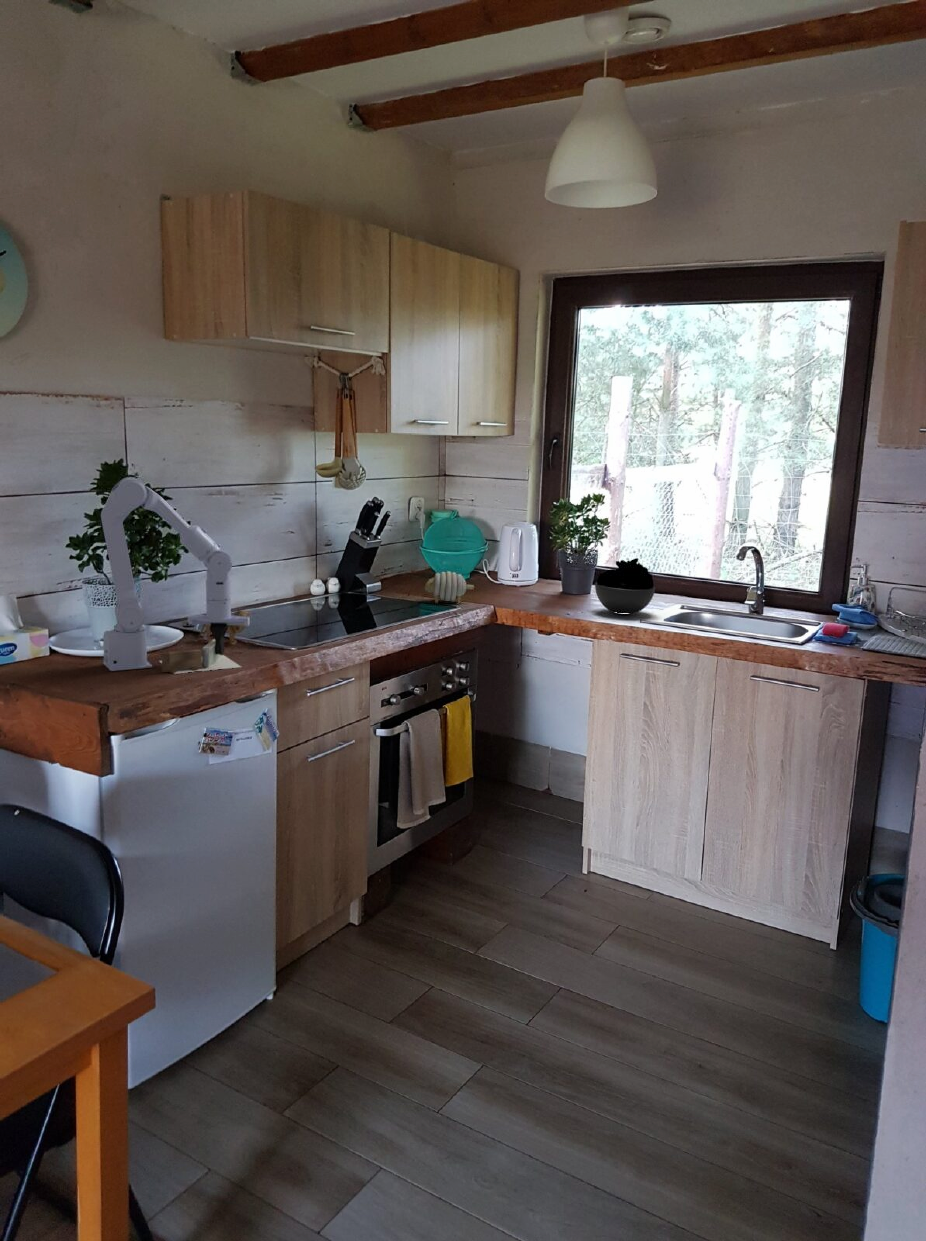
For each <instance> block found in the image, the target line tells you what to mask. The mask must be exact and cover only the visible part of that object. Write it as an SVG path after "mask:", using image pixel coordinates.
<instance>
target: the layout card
mask: <svg viewBox="0 0 926 1241" xmlns="http://www.w3.org/2000/svg"><path fill="white" fill-rule="evenodd" d="M159 663H160V664H161V665H162V660H159ZM242 667H243V666H241V665H239V664H238V663H237V662H235V661H233V659H230V658H229V657H228V656H226V655H224V654H222V655H221V656H220V657H218V658H217V659H216V660H215V661H214V662H212V663H211V664H210V665H209V666H207V667H203V666H202V667H196V668H198V670H196V671H202V672H211V671H210V670H212V671H219V670H218V669H223V670H231V669H232V668H233V669H241V668H242ZM233 669H232V670H233ZM188 672H192V673H195V672H194V671H192V670H191V669H190V668H186V669H176V673H173V675H178V674H181V673H182V674H189V673H188Z"/></svg>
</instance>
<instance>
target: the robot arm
mask: <svg viewBox="0 0 926 1241" xmlns="http://www.w3.org/2000/svg"><path fill="white" fill-rule="evenodd" d="M139 507H142V508H143V509H144V510H148V511H151V512H154V513H156V514H157V515H159V517H160V518H161V519H163V520H164V521H165V522H166V523H167V524H168V525H169V526H170V527H171V528H172V529H174V530H175V532H177V533H178V534H179V536H180V537H179V538H180V539H179V541H180V542H179V543H180V544H181V545H182V546H184V547H185V549H186V550H187V551H188V552H190V553H191V554H192V555H193V556H194V557H195V558H196V559H197V560H198V561H199V562H202V563H203V565H204V567H205V568H206V579H205V586H206V587H205V593H206V594H205V595H206V596H205V599H206V600H205V601H206V605H205V606H206V608H205V609H206V614H190V615H188V616H187V625H203V624H211V626H210V631H211V635H212V636H213V638H214V639H215V653H216V654H219V655H224V653H225V641H224V637H225V635H226V634H227V633H226V631H227V629H228V627H229V625H244V626H247V627H249V626H250V625H251V624H250V622H251V621H250V616H249V617H242V616H233V615H232V609H231V607H232V603H231V602H232V600H231V595H232V593H231V592H232V591H231V580H230V577H231V572H230V571H231V569H232V567H233V563H232V559H231V556H230V555H229V554H228V553H227V552H226V551H225V550H224V549H223V548H222V545H221V544H220V543H219V542H216V541H214V540H213V539H212V538H211V537H210V536H209V534H207V533H208V530H207V529H205V527H200V526H199V525H190V524H189V523H188V522H187V521H186V520H185V519H184V518H183V517H182V516H180V514H179V513H178V512H177V511H176V510H174V508H173V507H172V506H171V505H170V504H169V503H168V502H167V501H166V500H165V498H163V497H162V496H161V495H159V493H157V492H156V491H154V490H153V489H151V488H150V487H148V485H144V483H143V482H142V481H141V480H140V479H138V478H136V477H133V476H127V477H124V478H122V479H121V480H119V481H118V483H116V484H115V485H114V486H113V488H111V492H109V496H108V498H107V499H106V502H105V504H104V506H103V508H102V510H101V512H100V518H101V519H100V520H101V523H102V525H101V526H102V529H103V535H104V539H105V545H106V550H107V555H108V560H109V566H110V571H111V576H112V581H113V587H114V591H115V597H116V604H115V608H114V613H115V617H116V618H115V620H116V623H115V625H114V626H113V629H111V630H106V631H104V632H103V637H102V639H103V642H102V644H103V646H102V647H103V665H104V666H105V667H106V668H107V669H108V670H109V671H110V672H117V671H126V670H136V669H137V670H138V669H147V668H148V669H149V668H152V667H153V664H151V663H150V662H149V661H148V654H147V653H148V649H147V644H148V643H147V626H146V625H145V621H146V620H145V619H146V613H145V611H144V609H143V606H142V603H141V602H140V601H139V599H138V595H137V591H136V585H135V581H134V575H133V570H132V564H131V560H130V554H129V550H128V548H129V547H128V543H127V539H126V533H125V528H124V521H125V520H126V518H127V517H128V516H129V515H130V514H131V512H132V511H134V510H136V509H137V508H139ZM214 639H213V640H214Z"/></svg>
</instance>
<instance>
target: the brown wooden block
mask: <svg viewBox="0 0 926 1241" xmlns="http://www.w3.org/2000/svg"><path fill="white" fill-rule="evenodd" d="M161 661H162V664H161V671H162V672H163V673H169V672H170V673H171V674H174V673H176V669H186V668H190V669H191V670H192V671H196V670H198V668H196V667H202V649H187V650H179V651H166V652H165V651H164V652H163V651H162V652H161Z"/></svg>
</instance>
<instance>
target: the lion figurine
mask: <svg viewBox="0 0 926 1241" xmlns="http://www.w3.org/2000/svg"><path fill="white" fill-rule="evenodd" d="M249 613H250V612H248V611H246V610H243V609H241V610H239V609H238V610H237V611H236V612H234V613H231V615H233V616H242V617H250V614H249ZM201 625H202V626H201V630H200V632H199V635H198V636H196V637H195V638H194V640H199V639H200V638H201V637H202V639H203V640H205V641H207V642H208V643H210V642H211V641H212V640H213V639H211V635H212V633H211V631H210V626H211V624H201ZM246 628H248V626H244V625H229V627H228V629H227V631H226V633H225V634H227V633H228V635H229V636H228V637H229V644H230V645H231V646H232V645H233V646H235V645H236V643H237V642H238V641H237V639H235V636H236V634H240V633H242V631H243V630H244V629H246ZM208 643H207V644H208Z"/></svg>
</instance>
